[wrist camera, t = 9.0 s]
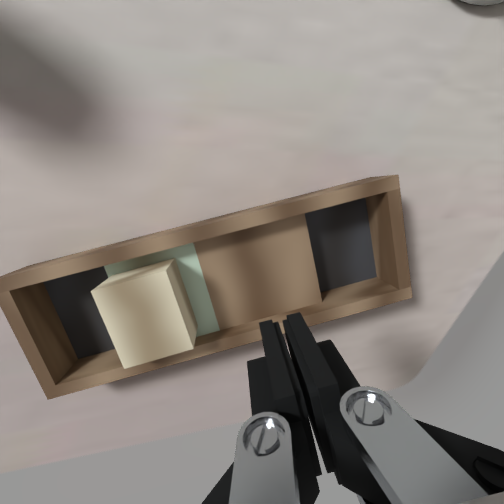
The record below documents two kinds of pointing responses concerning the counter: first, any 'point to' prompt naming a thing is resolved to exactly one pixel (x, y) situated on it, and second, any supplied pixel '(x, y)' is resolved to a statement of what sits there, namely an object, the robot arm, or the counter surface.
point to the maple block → (147, 313)
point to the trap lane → (219, 279)
